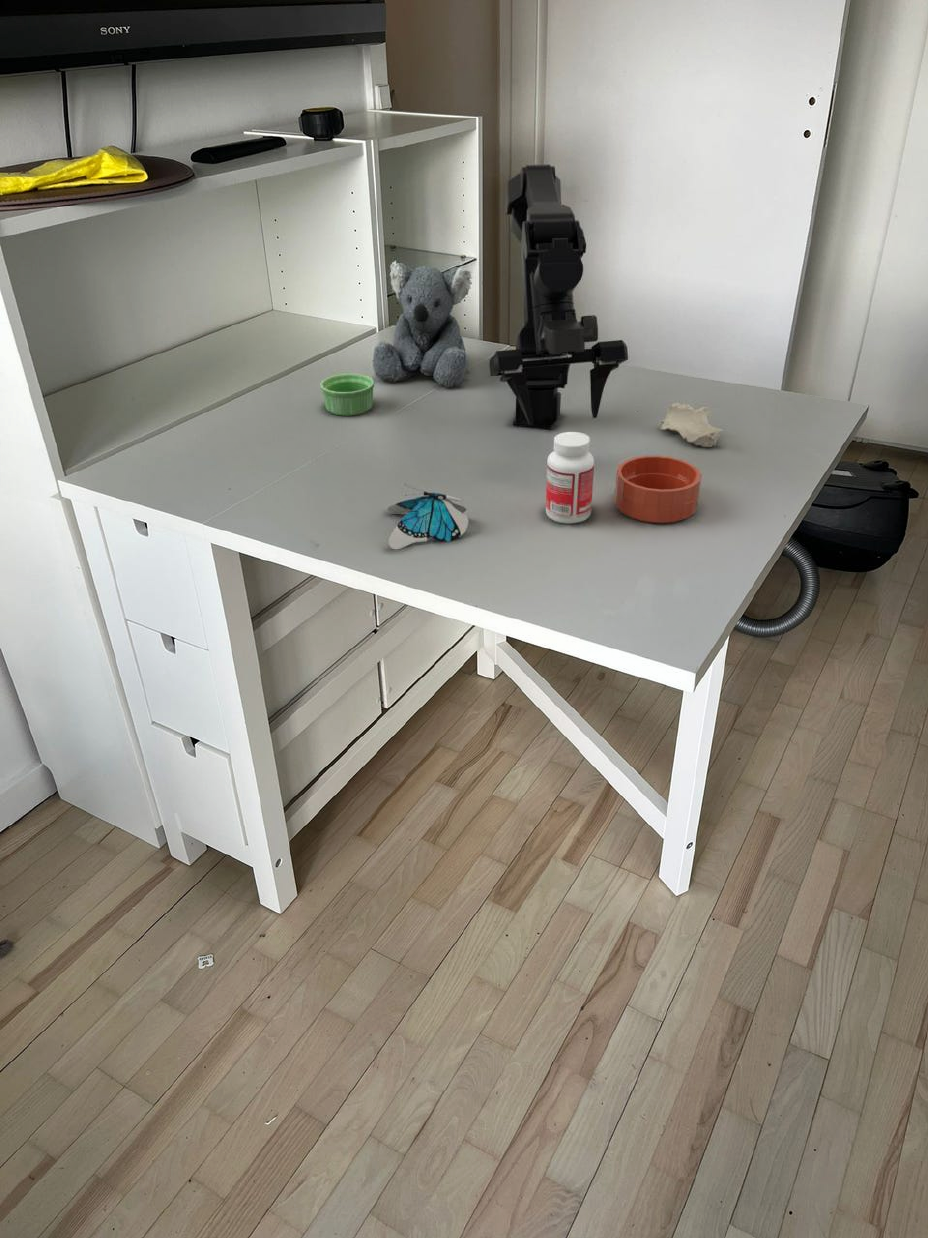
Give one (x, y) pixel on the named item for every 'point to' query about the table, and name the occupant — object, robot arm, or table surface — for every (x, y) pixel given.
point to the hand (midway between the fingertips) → (562, 421)
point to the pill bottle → (570, 478)
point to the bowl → (657, 488)
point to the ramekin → (348, 394)
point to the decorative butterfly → (428, 520)
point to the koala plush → (425, 326)
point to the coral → (691, 424)
